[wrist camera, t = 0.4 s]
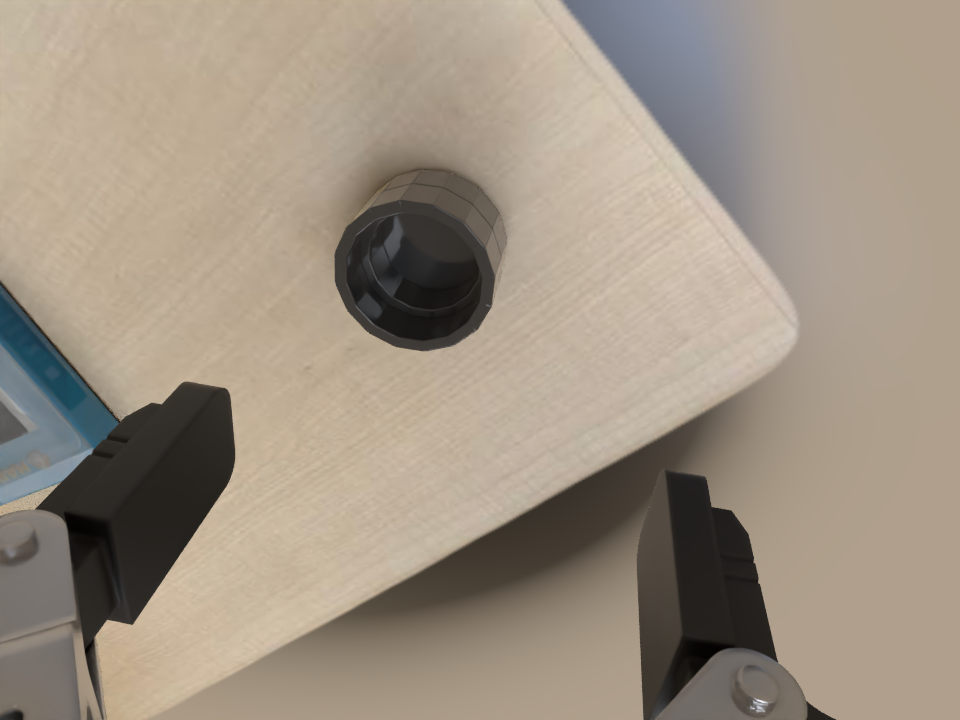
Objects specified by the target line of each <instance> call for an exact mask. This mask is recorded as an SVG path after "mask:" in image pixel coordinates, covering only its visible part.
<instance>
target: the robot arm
mask: <svg viewBox="0 0 960 720" xmlns="http://www.w3.org/2000/svg"><path fill="white" fill-rule="evenodd" d="M234 463H235V444H234V432H233V421H232V409H231V399H230V394H229V392H228V390H227V389H225V388H220V387H215V386H209V385H204V384H198V383H193V382H183V383H182V384H181V385H179V386H178V388H177V389H176V390H175V391H174V392H173V393H172V394H171V395H170V396H169V397H168V398H167V399H166V401H165V402H164V403H163V404H162V405H161V404H156V403H150V404H149V405H147V406H145V407H143V408H141V409H139V410H137V411H135V412H134V413H132V414H130V415H128V416H126V417H125V418H124V419H123V420H122V421H121V422H120V423H119V424H118V425H117V426H116V427H115V428H114V429H113V430H112V431H111V432H110V433H109V434H108V435H107V439H106V440H105V439H103V440H102V441H101V442H100V443H99V444H98V445H97V446H96V447H95V448H94V449H93V450H92V454H91V455H88V456H87V457H86V458H85V459H84V460H83V461H82V462H81V463H80V464H79V465H78V466H77V467H76V468H75V469H74V470H73V471H72V472H71V473H70V474H69V475H68V476H67V477H66V478H65V479H64V480H63V481H62V482H61V483H60V484H59V485H58V486H57V487H56V488H55V489H54V490H53V491H52V493H51V494H50V495H49V496H48V497H47V498H46V499H45V500H44V501H43V502H42V503H41V504H40V505H39V506H38V507H37V508H36V509H35V510H21V511H16V512H11V513H8V514H4V515H2V516H0V720H107V715H106V708H105V700H104V692H103V684H102V676H101V668H100V660H99V652H98V645H97V641H96V637H95V636H96V634H97V633H98V632H99V630H100V629H101V627H102V626H103V625H104V623H105V622H106V620H112V621H117V622H121V623H126V624H131V625H133V623H134V622H135V620H136V619H137V618H138V616H139V615H140V613H141V612H142V610H143V609H144V607H145V606H146V604H147V603H148V601H149V600H150V598H151V597H152V595H153V594H154V592H155V591H156V589H157V588H158V587H159V585H160V584H161V582H162V581H163V579H164V578H165V576H166V575H167V573H168V572H169V570H170V569H171V567H172V566H173V564H174V563H175V561H176V560H177V558H178V557H179V555H180V554H181V553H182V551H183V550H184V548H185V547H186V545H187V544H188V542H189V541H190V539H191V538H192V536H193V535H194V533H195V532H196V530H197V529H198V527H199V526H200V524H201V523H202V522H203V520H204V519H205V517H206V516H207V514H208V513H209V511H210V510H211V508H212V507H213V505H214V504H215V502H216V501H217V499H218V498H219V496H220V495H221V493H222V492H223V490H224V489H225V488H226V486H227V484H228V482H229V480H230V478H231V475H232V472H233V468H234ZM753 561H754V556H753V552H752V548H751V544H750V539H749V535H748V533H747V532H746V530H745V529H744V527H743V526H742V525H741V523H740V522H739V520H738V519H737V518H736V517H735V515H734V513H733V512H732V511H730V510H725V509H719V508H713V507H711V502H710V496H709V490H708V485H707V480H706V478H705V477H704V476H700V475H694V474H688V473H683V472H677V471H672V470H666V469H662V470H661V472H660V474H659V476H658V479H657V482H656V485H655V489H654V492H653V495H652V498H651V502H650V505H649V508H648V511H647V514H646V517H645V521H644V524H643V527H642V530H641V534H640V539H639V545H638V554H637V580H638V601H639V602H638V603H639V625H640V647H641V671H642V692H643V716H644V720H836V719H833V718H831V717H830V716H828V715H826V714H824V713H822V712H821V711H819V710H818V709H816V708H814V707H813V706H812V705H811V704H809V703H808V702H807V701H806V699H805V696H804V694H803V692H802V690H801V688H800V686H799V685H798V683H797V682H796V680H795V679H794V678H793V676H792V675H791V674H790V673H789V672H788V671H787V670H786V669H785V668H784V667H783V666H781V665H780V664H779V663H778V660H777V658H776V653H775V648H774V644H773V640H772V635H771V631H770V626H769V622H768V618H767V613H766V609H765V605H764V600H763V596H762V592H761V587H760V584H758V574H757V570H756V565H755V563H753Z"/></svg>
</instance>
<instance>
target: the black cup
mask: <svg viewBox="0 0 960 720" xmlns="http://www.w3.org/2000/svg"><path fill="white" fill-rule="evenodd" d="M506 245H507V237H506V233H505V230H504V227H503V223H502V220H501V217H500V214H499V212H498V210H497V209H496V208H495V206H494V205H493V204H492V203H491V201H490V200H489V199H488V198H487V196H486V195H485V194H484V193H483V192H482V190H481V189H479V187H477V186H475V185H473V184H472V183H470V182H468V181H466V180H465V179H463V178H461V177H459V176H457V175H456V174H452V173H448V172H440V171H433V170H426V169H425V170H417V171H414V172H410V173H406V174H403V175H399V176H396V177H394V178H393V179H391V180H390V181H389V182H388V183H387V184H386V185H384V186H383V187H382V188H381V189H380V190H378V191H377V192H376V193H375V194H374V195H373V196H372V197H371V199H370V200H369V201H368V202H367V203H366V205H365V206H364V207H363V208H362V209H361V210H360V212H359V213H358V214H357V215H356V216H355V217H354V219H353V220H352V221H351V222H350V223H349V225H348V226H347V227H346V228H345V231H344V233H343V235H342V237H341V240H340V242H339V244H338V246H337V249H336V251H335V255H334V256H335V282H336V286H337V289H338V291H339V293H340V295H341V298H342V300H343V302H344V305H345V307H346V309H347V310H348V312H349V313H350V314H351V315H352V316H353V317H354V318H355V319H356V320H357V321H358V323H359V324H360V325H361V326H362V327H363V328H364V329H365V330H366V331H367V332H369V333H370V334H372V335H374V336H375V337H377V338H379V339H381V340H383V341H385V342H387V343H389V344H391V345H393V346H396V347H399V348H405V349H412V350H418V351H430V350H435V349H440V348H445V347H450V346H453V345H456V344H457V343H459V342H460V341H462V340H463V339H465V338H466V337H468V336H469V335H471V334H472V333H474V332H475V331H476V330H477V329H478V328H479V327H480V325H481V323H482V322H483V320H484V318H485V317H486V315H487V314H488V312H489V310H490V309H491V307H492V304H493V300H494V297H495V294H496V290H497V287H498V283H499V280H500V277H501V274H502V270H503V267H504V262H505V254H506Z"/></svg>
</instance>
